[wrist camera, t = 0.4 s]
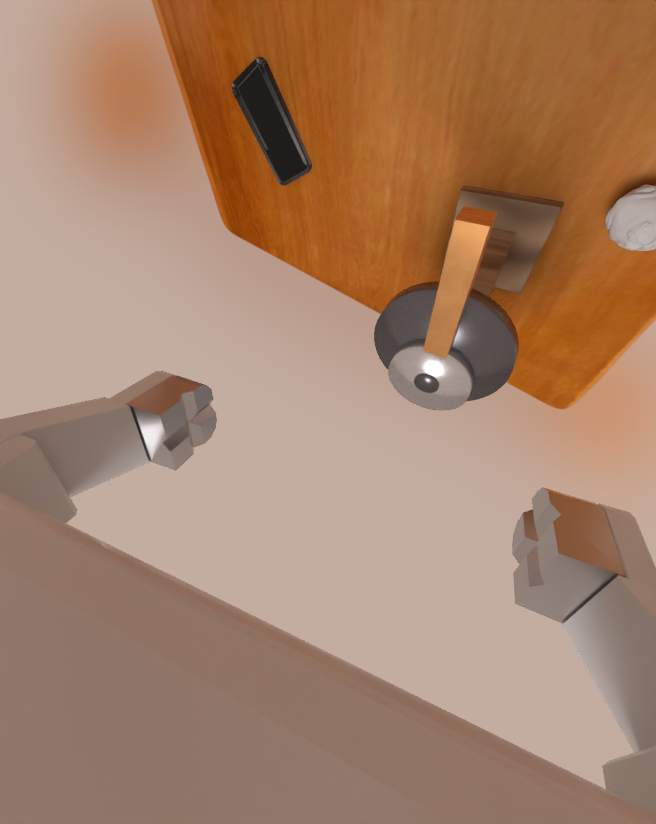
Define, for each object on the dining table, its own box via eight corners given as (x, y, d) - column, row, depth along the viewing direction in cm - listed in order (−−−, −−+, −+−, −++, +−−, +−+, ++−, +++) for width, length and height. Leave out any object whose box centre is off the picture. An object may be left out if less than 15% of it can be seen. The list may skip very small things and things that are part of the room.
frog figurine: (631, 241, 44) (627, 271, 41) (594, 204, 43) (587, 231, 40) (693, 202, 39) (694, 233, 35) (654, 158, 38) (651, 185, 34)
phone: (259, 54, 48) (311, 170, 57) (264, 52, 48) (315, 167, 57) (229, 86, 53) (280, 187, 62) (233, 84, 54) (284, 185, 62)
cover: (418, 197, 28) (407, 210, 27) (550, 222, 25) (544, 238, 24) (390, 382, 48) (384, 394, 47) (462, 409, 45) (456, 422, 43)
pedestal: (456, 172, 47) (378, 275, 35) (583, 191, 42) (543, 320, 30) (433, 274, 61) (371, 375, 49) (528, 298, 56) (485, 417, 44)
